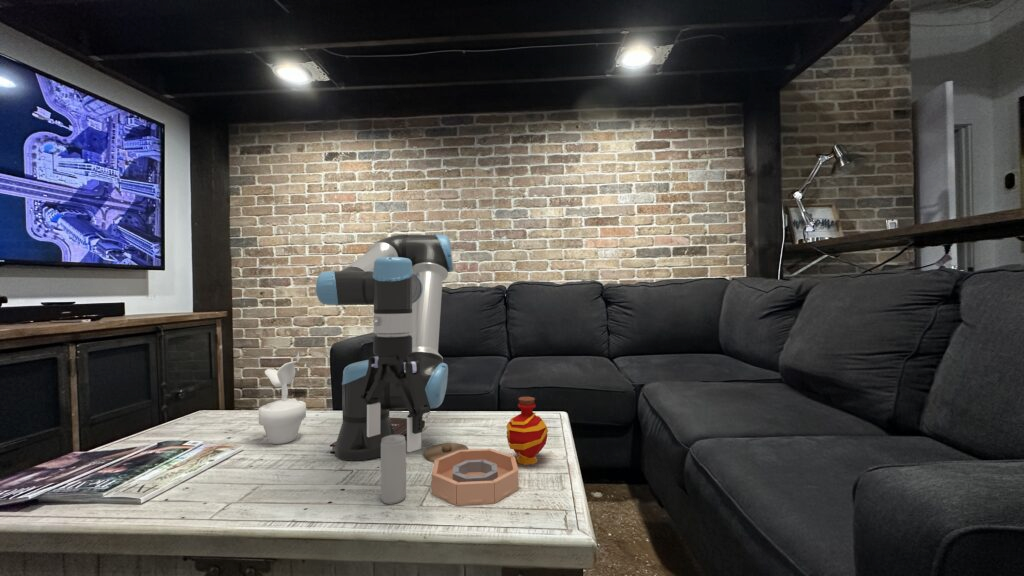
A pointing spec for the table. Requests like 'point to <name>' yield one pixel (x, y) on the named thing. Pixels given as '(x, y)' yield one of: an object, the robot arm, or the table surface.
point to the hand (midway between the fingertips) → (392, 442)
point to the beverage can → (393, 469)
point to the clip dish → (476, 486)
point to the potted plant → (282, 407)
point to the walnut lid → (442, 450)
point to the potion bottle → (526, 432)
